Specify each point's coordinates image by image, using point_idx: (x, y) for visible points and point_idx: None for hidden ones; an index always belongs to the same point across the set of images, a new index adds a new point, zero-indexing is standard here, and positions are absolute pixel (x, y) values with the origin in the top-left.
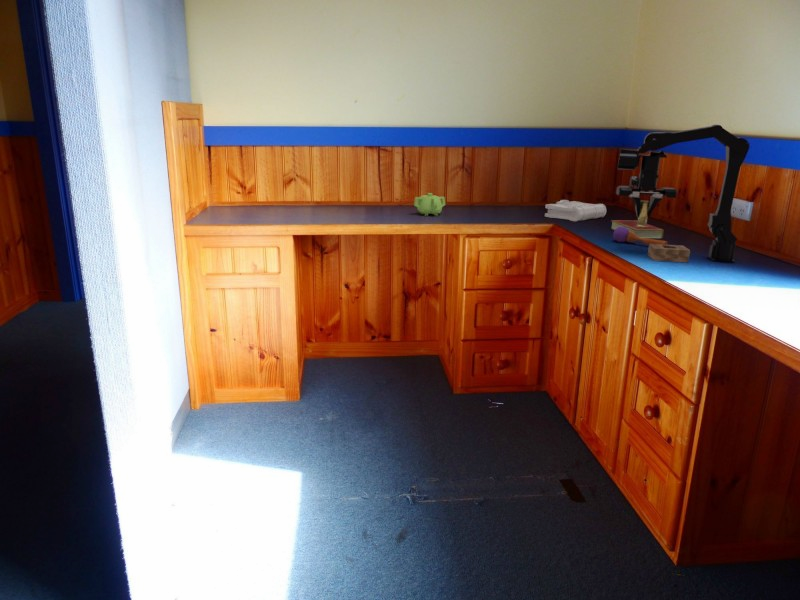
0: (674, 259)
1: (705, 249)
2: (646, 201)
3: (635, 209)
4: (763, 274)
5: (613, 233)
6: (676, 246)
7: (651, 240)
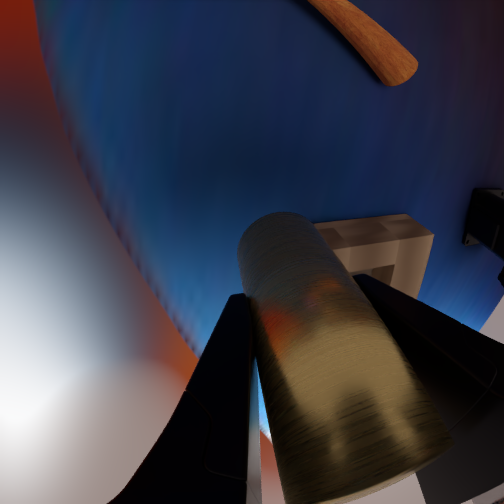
0: None
1: (494, 66)
2: (378, 489)
3: (202, 360)
4: (467, 321)
5: None
6: (401, 266)
7: (350, 25)
